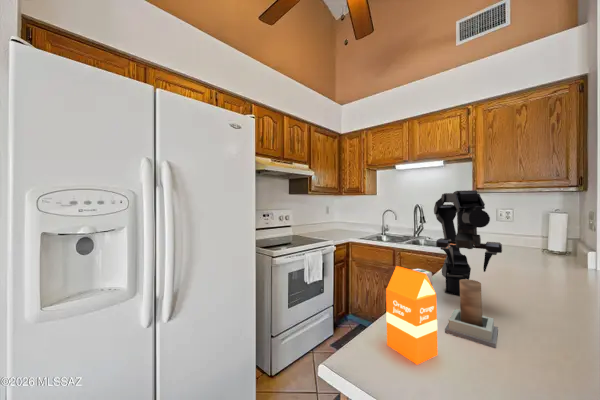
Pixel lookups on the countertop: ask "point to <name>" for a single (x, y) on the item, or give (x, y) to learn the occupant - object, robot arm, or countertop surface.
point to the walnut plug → (471, 302)
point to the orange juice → (411, 315)
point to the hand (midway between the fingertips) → (468, 269)
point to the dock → (473, 329)
